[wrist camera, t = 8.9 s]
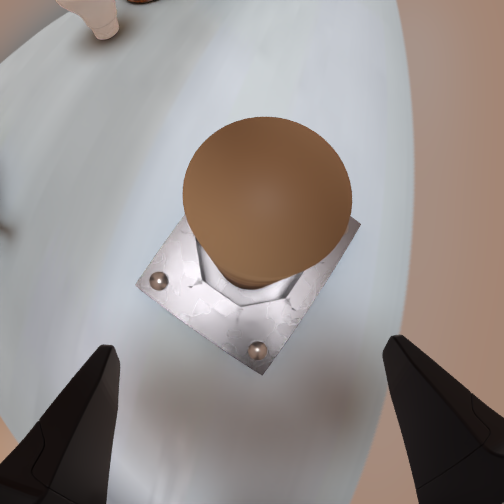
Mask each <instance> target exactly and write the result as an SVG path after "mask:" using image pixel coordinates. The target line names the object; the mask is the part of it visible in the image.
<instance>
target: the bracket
mask: <svg viewBox="0 0 504 504" xmlns="http://www.w3.org/2000/svg"><path fill="white" fill-rule="evenodd" d="M360 225H361V224H360V223H359V222H358V221H356V220H355V219H353V218H352V217H351V216H350V219H349V223H348V226H347V228H346V231H345V233H344V235H343V236H342V238H341V240H340V242H339V243H338V244H337V246H336V247H335V248H334V249H333V251H332V252H331V253H330V254H329V255H328V256H326V257H325V258H324V259H323V260H321V261H320V262H319V263H317V264H316V265H314V266H312V267H310V268H309V269H307V270H305V271H302V272H300V273H297V274H295V275H293V276H290V277H288V278H286V279H283V280H281V281H278V282H276V283H273V284H271V285H269V286H266V287H264V288H261V289H256V290H246V289H241V288H238V287H236V286H234V285H232V284H231V283H230V282H228V281H227V280H226V279H225V278H224V277H223V275H222V274H221V272H220V271H219V270H218V268H217V267H216V265H215V264H214V263H213V261H212V260H211V259H210V257H209V256H208V254H207V253H206V252H205V250H204V249H203V247H202V246H201V245H200V243H199V242H198V240H197V239H196V237H195V236H194V234H193V232H192V230H191V228H190V226H189V224H188V221H187V218H186V215H184V217H183V218H182V219H181V221H180V222H179V223H178V225H177V226H176V227H175V229H174V230H173V231H172V233H171V234H170V236H169V237H168V238H167V240H166V241H165V243H164V244H163V245H162V247H161V248H160V250H159V251H158V252H157V254H156V255H155V257H154V258H153V260H152V261H151V262H150V264H149V265H148V267H147V268H146V270H145V271H144V273H143V274H142V276H141V277H140V278H139V280H138V281H137V283H136V284H135V286H136V287H138V288H139V289H140V290H142V291H143V292H144V293H145V294H147V295H148V296H149V297H151V298H152V299H153V300H154V301H156V302H157V303H158V304H160V305H161V306H162V307H164V308H165V309H166V310H168V311H169V312H170V313H172V314H173V315H174V316H176V317H177V318H179V319H180V320H181V321H183V322H184V323H185V324H187V325H188V326H190V327H191V328H192V329H194V330H195V331H197V332H198V333H199V334H201V335H202V336H204V337H205V338H207V339H208V340H209V341H211V342H212V343H214V344H215V345H217V346H218V347H220V348H221V349H223V350H224V351H226V352H227V353H228V354H230V355H231V356H233V357H234V358H236V359H238V360H239V361H241V362H242V363H244V364H245V365H247V366H248V367H250V368H251V369H253V370H254V371H256V372H258V373H259V374H261V375H263V374H264V372H265V371H266V370H267V368H268V367H269V365H270V364H271V363H272V361H273V360H274V358H275V357H276V356H277V354H278V353H279V351H280V350H281V349H282V347H283V346H284V344H285V343H286V341H287V340H288V338H289V337H290V336H291V334H292V333H293V331H294V330H295V328H296V327H297V325H298V324H299V322H300V321H301V319H302V318H303V316H304V315H305V313H306V312H307V310H308V309H309V307H310V306H311V304H312V303H313V301H314V300H315V298H316V297H317V295H318V294H319V292H320V290H321V289H322V287H323V286H324V284H325V283H326V281H327V279H328V278H329V276H330V275H331V273H332V272H333V270H334V268H335V267H336V265H337V263H338V262H339V260H340V259H341V257H342V255H343V254H344V252H345V250H346V249H347V247H348V245H349V244H350V242H351V240H352V239H353V237H354V235H355V234H356V232H357V230H358V229H359V227H360Z"/></svg>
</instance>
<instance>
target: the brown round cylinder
mask: <svg viewBox="0 0 504 504" xmlns="http://www.w3.org/2000/svg"><path fill="white" fill-rule="evenodd" d="M183 205H184V211H185V215H186V218H187V221H188V224H189V226H190V228H191V230H192V232H193V234H194V236H195V237H196V239H197V240H198V242H199V243H200V245H201V246H202V247H203V249H204V250H205V252H206V253H207V254H208V256H209V257H210V259H211V260H212V261H213V263H214V264H215V265H216V267H217V268H218V270H219V271H220V272H221V274H222V275H223V277H224V278H225V279H226V280H227V281H228V282H230V283H231V284H232V285H234V286H236V287H238V288H241V289H246V290H256V289H261V288H264V287H266V286H269V285H271V284H273V283H276V282H278V281H281V280H283V279H286V278H288V277H290V276H293V275H295V274H297V273H300V272H302V271H305V270H307V269H309V268H310V267H312V266H314V265H316V264H317V263H319V262H320V261H321V260H323V259H324V258H325V257H326V256H328V255H329V254H330V253H331V252H332V251H333V249H334V248H335V247H336V246H337V244H338V243H339V242H340V240H341V238H342V236H343V235H344V233H345V231H346V228H347V226H348V223H349V219H350V215H351V209H352V190H351V185H350V180H349V177H348V174H347V171H346V169H345V167H344V164H343V162H342V161H341V159H340V157H339V156H338V154H337V153H336V152H335V150H334V149H333V148H332V147H331V145H330V144H329V143H327V142H326V141H325V140H324V139H323V138H322V137H321V136H319V135H318V134H317V133H316V132H314V131H312V130H311V129H309V128H307V127H305V126H303V125H301V124H299V123H296V122H293V121H290V120H287V119H282V118H276V117H254V118H247V119H243V120H240V121H236V122H234V123H231V124H229V125H227V126H225V127H223V128H221V129H220V130H218V131H216V132H215V133H214V134H212V135H211V136H210V137H209V138H208V139H207V140H206V141H205V142H204V143H203V144H202V145H201V146H200V147H199V149H198V150H197V151H196V152H195V154H194V156H193V158H192V159H191V161H190V163H189V166H188V168H187V171H186V174H185V178H184V184H183Z"/></svg>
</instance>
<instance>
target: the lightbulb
mask: <svg viewBox="0 0 504 504" xmlns="http://www.w3.org/2000/svg"><path fill="white" fill-rule="evenodd" d="M55 1H56V2H57V3H58V4H59V5H60V6H61V7H62V8H65V9H66V10H68V11H70V12H73V13H75V14H77V15H79V16H80V17H81V18H82V19H83V20H84V21H85V23H86V25H87V26H88V27H89V28H91V29H92V31H93V33H94V35H95V36H96V38H97V39H100V40H105V39H109V38H111V37H112V36H114V35H115V34H116V33H117V32H118V30H119V24H118V20H117V17H116V15H117V9H116V5H115V0H55Z"/></svg>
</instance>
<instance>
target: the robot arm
mask: <svg viewBox="0 0 504 504" xmlns="http://www.w3.org/2000/svg"><path fill="white" fill-rule="evenodd" d="M382 356H383V362H384V366H385V371H386V376H387V381H388V386H389V391H390V395H391V398H392V402H393V405H394V409H395V412H396V415H397V419H398V422H399V425H400V429H401V433H402V436H403V440H404V443H405V447H406V451H407V455H408V459H409V463H410V466H411V471H412V475H413V479H414V483H415V488H416V493H417V497H418V502H419V504H504V418H503V417H502V416H501V415H499V414H498V413H496V412H495V411H494V410H492V409H491V408H489V407H488V406H487V405H486V404H485V403H483V402H482V401H481V400H480V399H478V398H477V397H476V396H475V395H474V394H473V393H471V392H470V391H469V390H468V389H467V388H465V387H464V386H463V385H462V384H461V383H460V382H458V381H457V380H456V379H455V378H454V377H453V376H451V375H450V374H449V373H448V372H447V371H445V370H444V369H443V368H442V367H441V366H439V365H438V364H437V363H436V362H435V361H433V360H432V359H431V358H430V357H429V356H427V355H426V354H425V353H424V352H423V351H421V350H420V349H419V348H418V347H417V346H415V345H414V344H413V343H412V342H410V341H409V340H408V339H407V338H405V337H404V336H403V335H394V336H391V337H390V338H389V340H388V342H387V344H386V346H385V348H384V350H383V354H382ZM119 378H120V361H119V358H118V356H117V353H116V350H115V348H114V346H113V345H100V346H99V347H98V348H97V350H96V351H95V352H94V353H93V354H92V355H91V357H90V358H89V359H88V360H87V361H86V363H85V364H84V365H83V366H82V367H81V369H80V370H79V371H78V372H77V373H76V375H75V376H74V377H73V378H72V379H71V381H70V382H69V383H68V384H67V385H66V387H65V388H64V389H63V390H62V392H61V393H60V394H59V395H58V397H57V398H56V399H55V400H54V401H53V403H52V404H51V405H50V406H49V408H48V409H47V410H46V412H45V413H44V414H43V415H42V417H41V418H40V419H39V421H38V422H37V423H36V424H35V425H34V427H33V428H32V429H31V430H30V432H29V433H28V434H27V435H26V437H25V438H24V439H23V440H22V441H21V442H20V443H19V445H18V446H17V447H16V448H15V449H14V450H13V451H12V452H11V453H10V454H9V455H8V456H7V457H6V458H5V459H4V460H3V461H2V463H1V464H0V504H106V501H107V489H108V479H109V469H110V461H111V453H112V445H113V438H114V431H115V424H116V418H117V411H118V395H119Z"/></svg>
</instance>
